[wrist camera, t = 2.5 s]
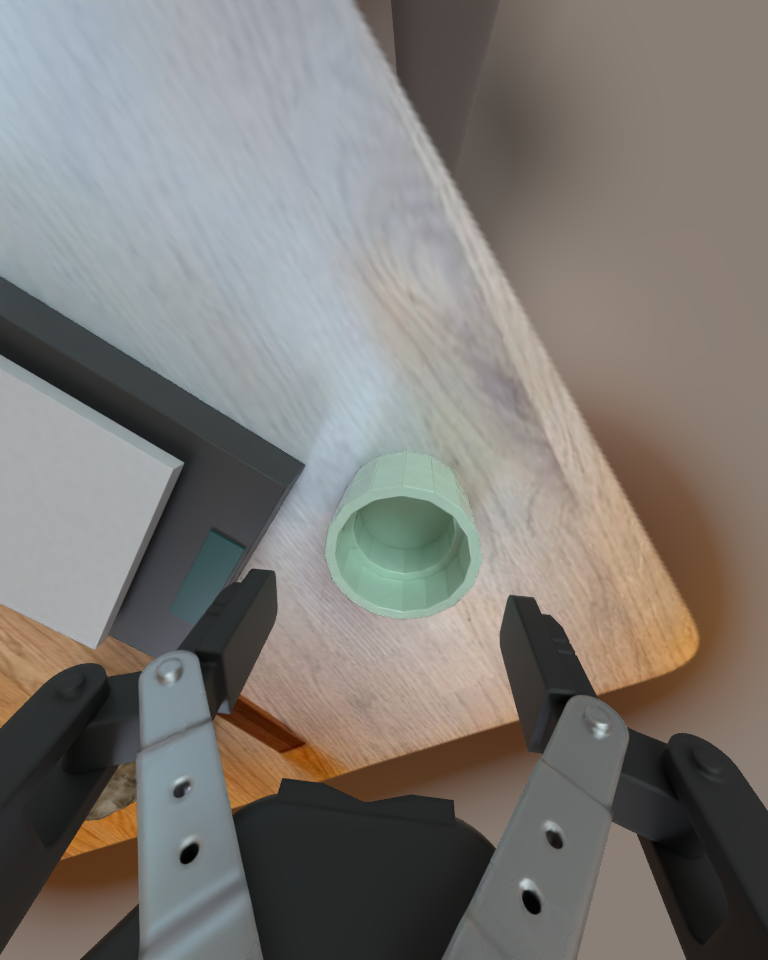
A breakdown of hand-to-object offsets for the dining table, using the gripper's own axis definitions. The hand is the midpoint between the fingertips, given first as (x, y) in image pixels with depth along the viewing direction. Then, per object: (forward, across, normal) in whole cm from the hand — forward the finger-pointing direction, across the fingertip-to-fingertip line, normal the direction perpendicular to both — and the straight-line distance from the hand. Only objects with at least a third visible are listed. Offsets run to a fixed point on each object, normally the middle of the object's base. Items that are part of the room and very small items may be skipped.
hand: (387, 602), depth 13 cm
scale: (+7, +16, 0) cm, 17 cm away
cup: (+7, 0, 0) cm, 7 cm away
